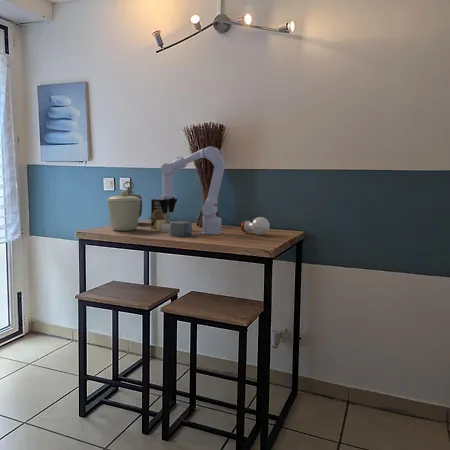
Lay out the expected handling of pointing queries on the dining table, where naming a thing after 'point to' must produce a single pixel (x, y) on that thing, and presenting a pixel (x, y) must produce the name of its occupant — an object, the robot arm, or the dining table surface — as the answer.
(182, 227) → the housing
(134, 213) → the canister
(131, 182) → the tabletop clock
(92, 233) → the dining table surface
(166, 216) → the coffee box
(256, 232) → the potion bottle
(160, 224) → the lever
